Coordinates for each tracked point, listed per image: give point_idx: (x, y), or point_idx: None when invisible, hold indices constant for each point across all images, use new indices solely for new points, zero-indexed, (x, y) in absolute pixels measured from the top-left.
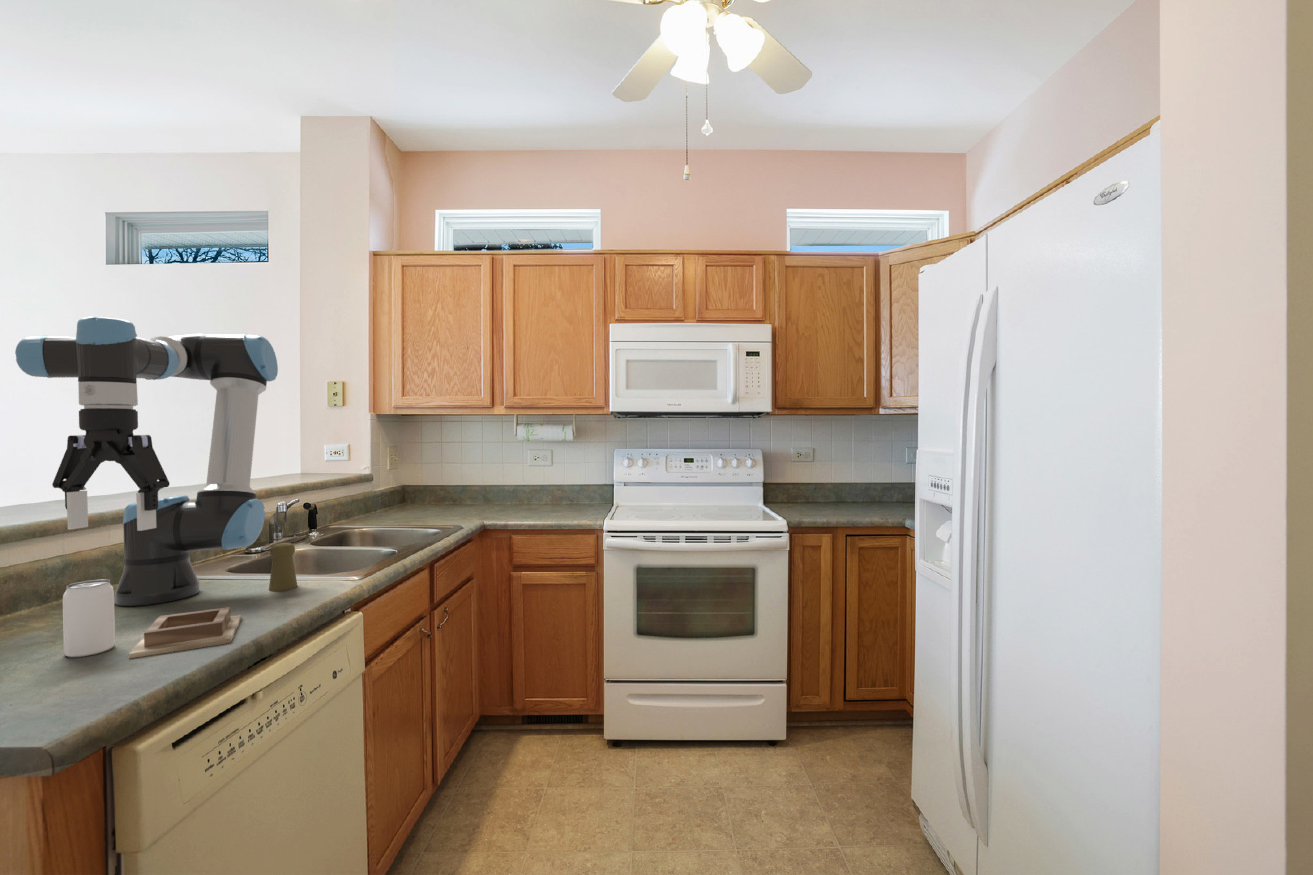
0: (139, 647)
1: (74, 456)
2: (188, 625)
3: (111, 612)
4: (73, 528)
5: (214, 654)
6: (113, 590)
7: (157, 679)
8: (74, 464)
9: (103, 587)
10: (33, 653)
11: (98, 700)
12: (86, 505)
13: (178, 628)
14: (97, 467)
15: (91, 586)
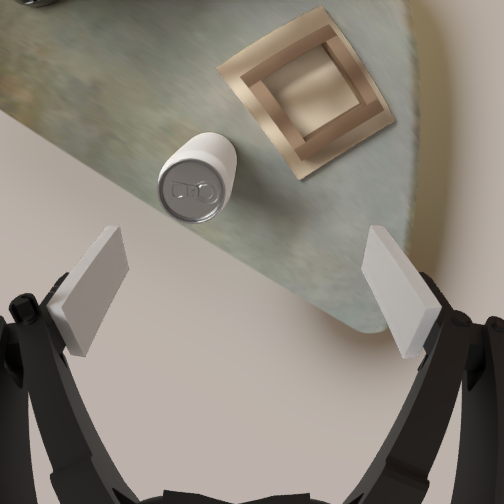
0: (290, 156)
1: (22, 480)
2: (342, 123)
3: (231, 160)
4: (127, 265)
5: (400, 161)
6: (221, 160)
7: None
8: (12, 432)
9: (226, 188)
10: (138, 176)
11: None
12: (89, 269)
13: (338, 137)
14: (75, 421)
15: (220, 208)
